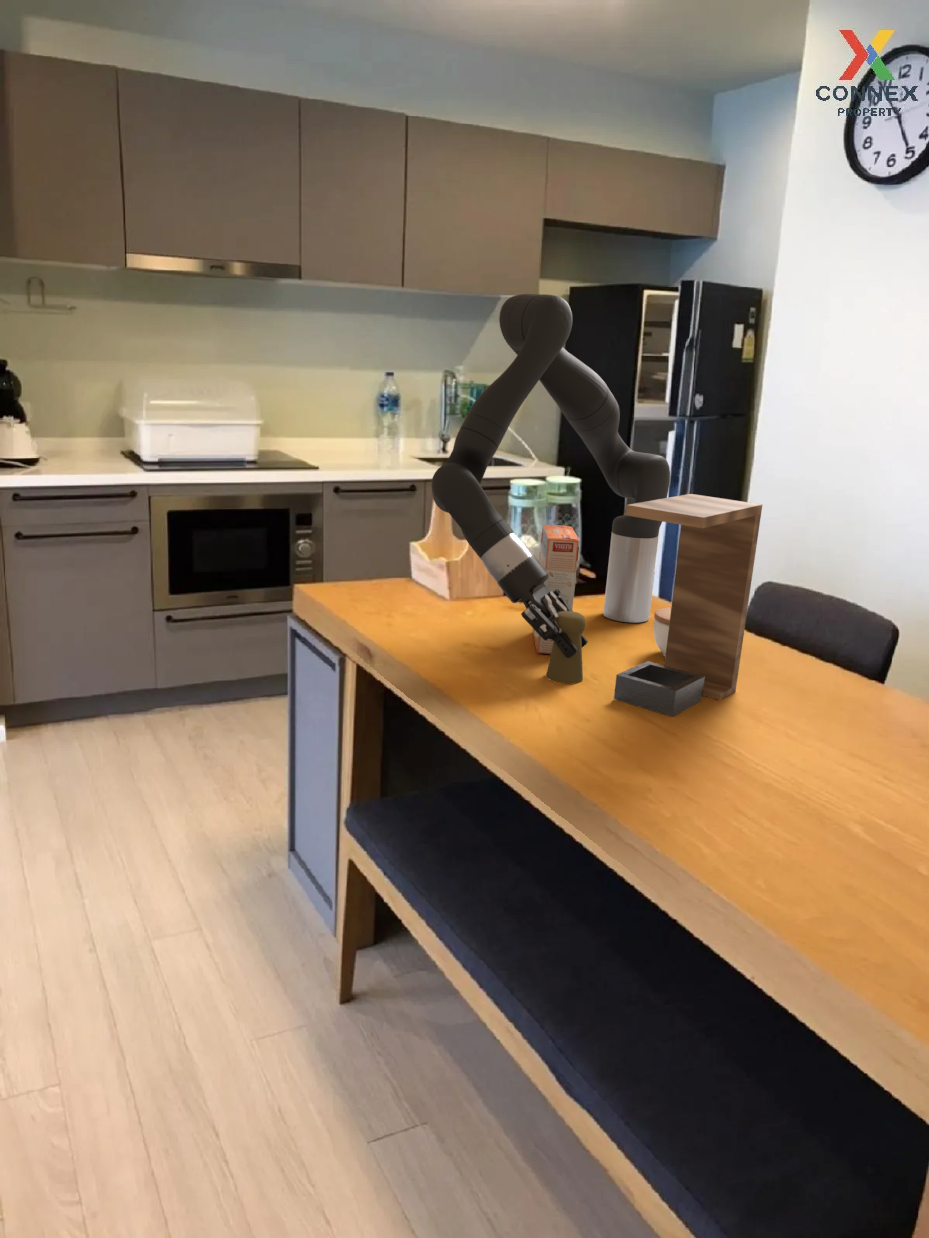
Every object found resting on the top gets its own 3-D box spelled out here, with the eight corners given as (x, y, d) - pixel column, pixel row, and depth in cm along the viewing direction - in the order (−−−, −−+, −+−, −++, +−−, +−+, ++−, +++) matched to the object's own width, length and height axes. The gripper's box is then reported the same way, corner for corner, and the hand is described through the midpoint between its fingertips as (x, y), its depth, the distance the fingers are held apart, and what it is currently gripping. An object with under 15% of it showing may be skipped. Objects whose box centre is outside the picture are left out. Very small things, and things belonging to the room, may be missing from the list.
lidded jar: (645, 660, 171) (651, 608, 168) (654, 644, 181) (660, 595, 178) (707, 669, 168) (714, 617, 165) (713, 653, 178) (719, 603, 175)
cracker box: (570, 656, 170) (581, 539, 164) (535, 654, 170) (545, 537, 164) (563, 634, 184) (573, 525, 178) (531, 632, 184) (540, 522, 178)
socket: (644, 684, 158) (647, 661, 157) (701, 700, 152) (704, 676, 151) (613, 699, 150) (616, 674, 149) (672, 716, 144) (675, 691, 143)
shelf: (668, 673, 164) (690, 493, 156) (735, 691, 158) (762, 504, 149) (605, 703, 148) (626, 504, 140) (677, 724, 141) (703, 517, 133)
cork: (581, 685, 156) (587, 619, 153) (543, 680, 157) (549, 615, 154) (584, 673, 161) (590, 610, 158) (548, 669, 162) (553, 606, 159)
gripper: (515, 561, 150) (583, 649, 149) (545, 546, 163) (607, 627, 162) (481, 589, 153) (547, 675, 152) (513, 573, 166) (574, 652, 165)
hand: (578, 650), depth 157 cm, fingers closed on cork, 5 cm apart
